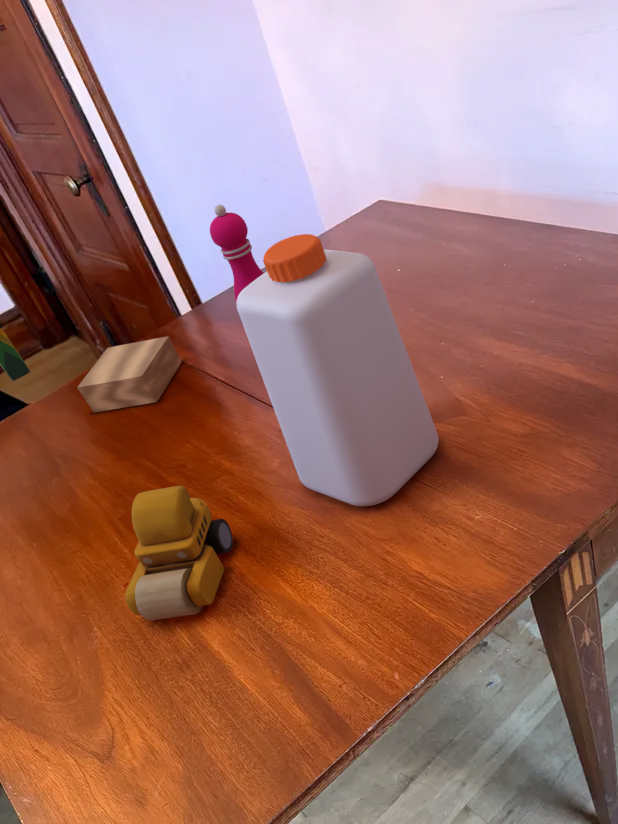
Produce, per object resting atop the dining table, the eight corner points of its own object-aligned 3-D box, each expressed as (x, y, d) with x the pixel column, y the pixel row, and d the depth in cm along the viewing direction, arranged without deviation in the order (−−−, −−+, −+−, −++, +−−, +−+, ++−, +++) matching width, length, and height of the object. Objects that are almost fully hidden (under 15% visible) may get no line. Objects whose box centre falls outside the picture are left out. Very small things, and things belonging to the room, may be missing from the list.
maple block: (93, 412, 122) (76, 387, 119) (122, 372, 131) (107, 347, 127) (157, 402, 119) (141, 375, 116) (182, 361, 128) (168, 335, 124)
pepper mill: (239, 325, 132) (188, 213, 119) (270, 305, 135) (224, 193, 121) (261, 333, 127) (210, 217, 114) (293, 312, 130) (247, 196, 117)
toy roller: (138, 632, 82) (86, 567, 75) (172, 540, 92) (130, 476, 85) (212, 621, 80) (166, 553, 73) (238, 529, 90) (200, 462, 83)
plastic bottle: (289, 486, 94) (189, 277, 75) (365, 416, 100) (291, 209, 82) (377, 519, 85) (288, 292, 66) (454, 440, 91) (394, 214, 73)
